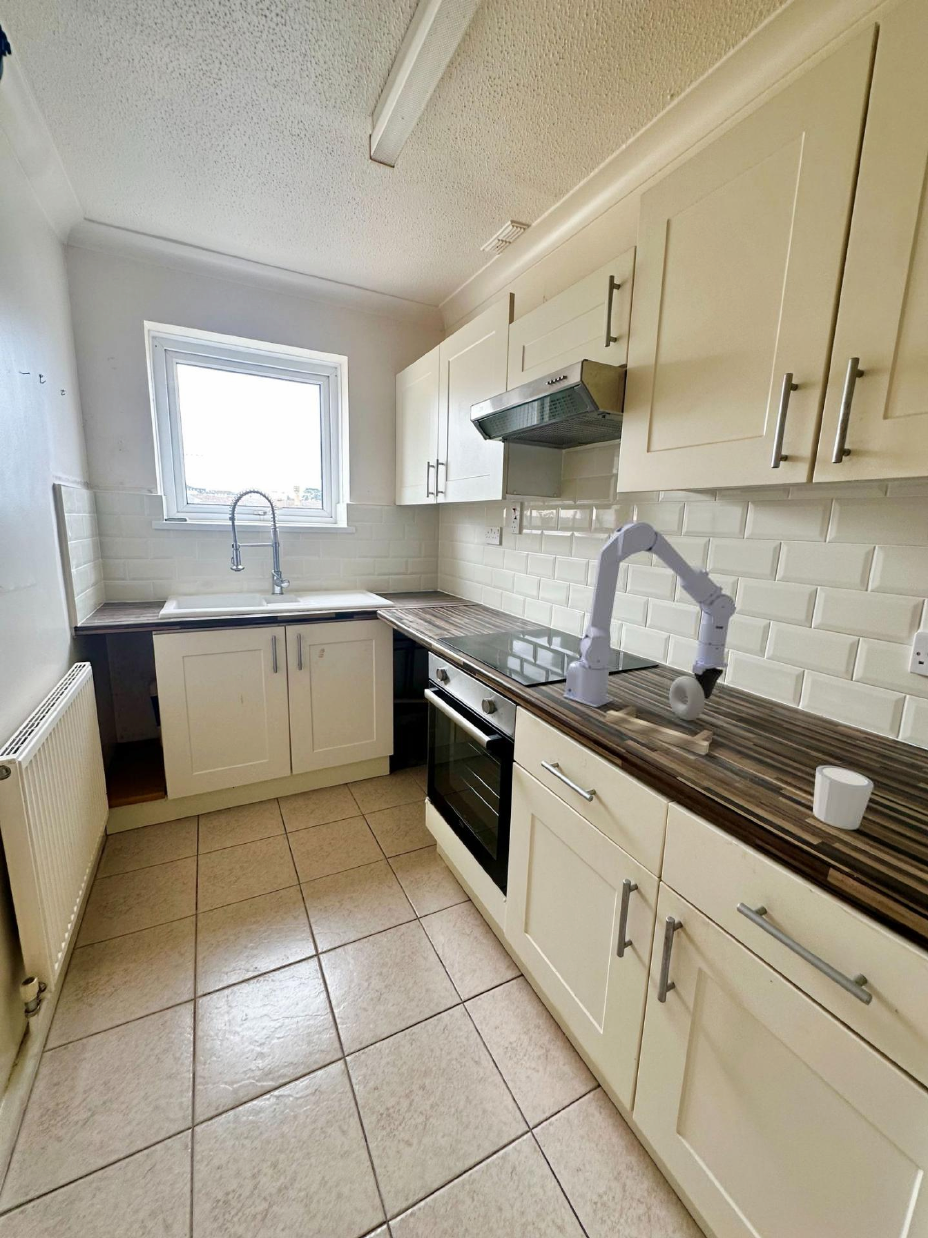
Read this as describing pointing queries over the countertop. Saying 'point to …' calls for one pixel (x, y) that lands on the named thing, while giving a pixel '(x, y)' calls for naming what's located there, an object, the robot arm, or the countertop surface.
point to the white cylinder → (840, 796)
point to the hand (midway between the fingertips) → (704, 697)
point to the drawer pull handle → (660, 731)
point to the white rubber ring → (694, 698)
